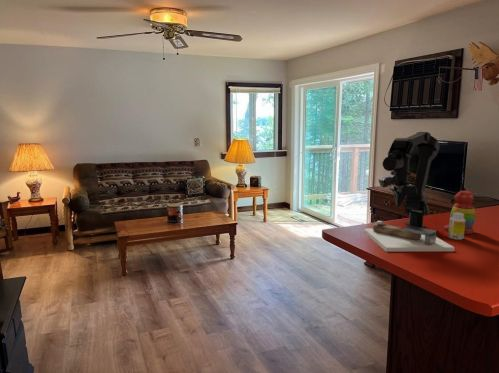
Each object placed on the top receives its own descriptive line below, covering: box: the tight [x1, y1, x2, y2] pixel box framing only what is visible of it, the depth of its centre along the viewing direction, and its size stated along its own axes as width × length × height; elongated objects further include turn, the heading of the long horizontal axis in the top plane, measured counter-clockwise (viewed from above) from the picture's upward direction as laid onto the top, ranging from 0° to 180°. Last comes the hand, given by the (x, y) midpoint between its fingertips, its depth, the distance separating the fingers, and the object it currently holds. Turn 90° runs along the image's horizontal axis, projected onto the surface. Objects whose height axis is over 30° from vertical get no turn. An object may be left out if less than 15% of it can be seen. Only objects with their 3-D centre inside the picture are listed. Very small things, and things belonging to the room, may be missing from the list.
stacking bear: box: [443, 190, 477, 235], centre depth 158 cm, size 11×10×18 cm
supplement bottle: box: [447, 212, 465, 240], centre depth 149 cm, size 6×6×10 cm
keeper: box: [403, 225, 438, 246], centre depth 140 cm, size 10×5×5 cm, turn 41°
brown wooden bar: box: [372, 222, 421, 240], centre depth 147 cm, size 18×5×2 cm, turn 45°
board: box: [363, 220, 455, 252], centre depth 145 cm, size 24×25×6 cm
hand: (398, 206), depth 153 cm, fingers closed
